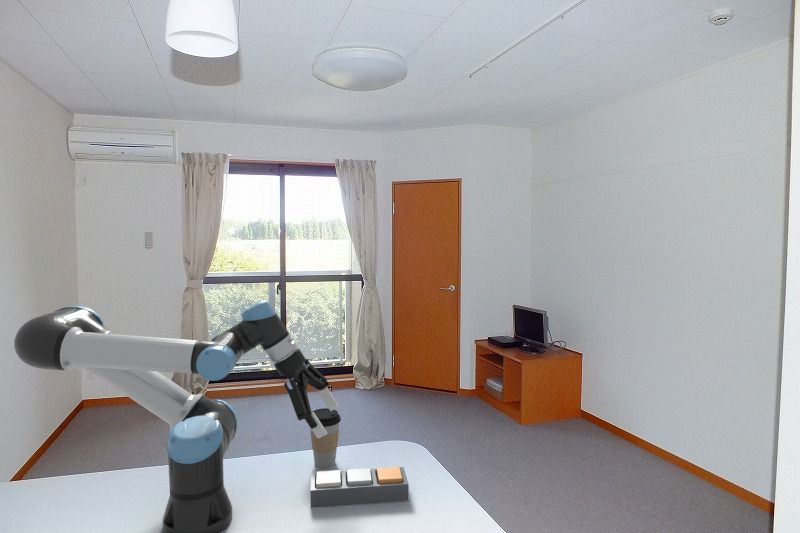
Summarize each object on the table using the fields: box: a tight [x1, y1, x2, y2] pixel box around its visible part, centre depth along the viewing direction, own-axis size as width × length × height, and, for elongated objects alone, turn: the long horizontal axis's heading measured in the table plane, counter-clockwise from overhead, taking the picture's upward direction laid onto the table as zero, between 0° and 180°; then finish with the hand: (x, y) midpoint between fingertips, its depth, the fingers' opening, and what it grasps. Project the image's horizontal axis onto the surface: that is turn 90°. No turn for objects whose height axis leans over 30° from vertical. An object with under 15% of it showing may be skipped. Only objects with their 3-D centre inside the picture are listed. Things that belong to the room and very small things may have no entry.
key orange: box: [376, 466, 402, 484], centre depth 130 cm, size 6×6×2 cm
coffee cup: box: [310, 407, 342, 469], centre depth 145 cm, size 9×9×15 cm
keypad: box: [309, 466, 410, 509], centre depth 129 cm, size 24×9×4 cm, turn 98°
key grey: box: [347, 467, 372, 486], centre depth 129 cm, size 6×6×2 cm
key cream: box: [316, 469, 341, 488], centre depth 128 cm, size 6×6×2 cm
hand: (329, 421), depth 133 cm, fingers open, 13 cm apart
